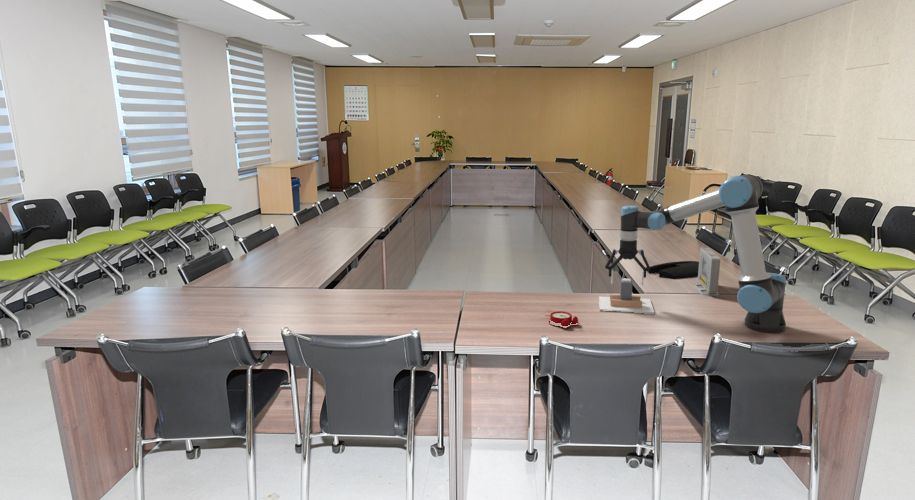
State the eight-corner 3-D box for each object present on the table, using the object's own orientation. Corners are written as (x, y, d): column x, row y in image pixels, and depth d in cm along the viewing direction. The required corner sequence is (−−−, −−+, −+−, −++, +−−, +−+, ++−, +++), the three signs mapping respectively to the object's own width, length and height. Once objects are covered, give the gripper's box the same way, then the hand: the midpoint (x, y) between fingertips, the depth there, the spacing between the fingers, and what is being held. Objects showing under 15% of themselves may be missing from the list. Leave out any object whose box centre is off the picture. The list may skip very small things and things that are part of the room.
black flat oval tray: (725, 273, 313) (725, 264, 312) (669, 281, 298) (670, 272, 297) (692, 264, 335) (692, 256, 334) (639, 271, 321) (639, 263, 320)
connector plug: (631, 305, 254) (632, 281, 252) (620, 305, 255) (621, 280, 253) (630, 302, 259) (631, 278, 256) (619, 302, 260) (620, 277, 258)
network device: (721, 297, 267) (725, 258, 263) (702, 297, 269) (706, 257, 264) (709, 283, 291) (712, 247, 287) (691, 283, 293) (694, 247, 289)
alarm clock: (558, 309, 244) (584, 310, 231) (560, 323, 244) (586, 325, 231) (542, 314, 238) (566, 315, 225) (544, 328, 238) (569, 330, 225)
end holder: (654, 314, 245) (654, 305, 244) (599, 311, 251) (599, 302, 250) (649, 300, 264) (650, 293, 263) (598, 298, 270) (599, 290, 269)
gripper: (656, 238, 251) (654, 282, 256) (600, 237, 257) (599, 280, 261) (658, 241, 244) (655, 286, 248) (600, 240, 250) (599, 284, 254)
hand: (626, 283), depth 255 cm, fingers open, 13 cm apart
